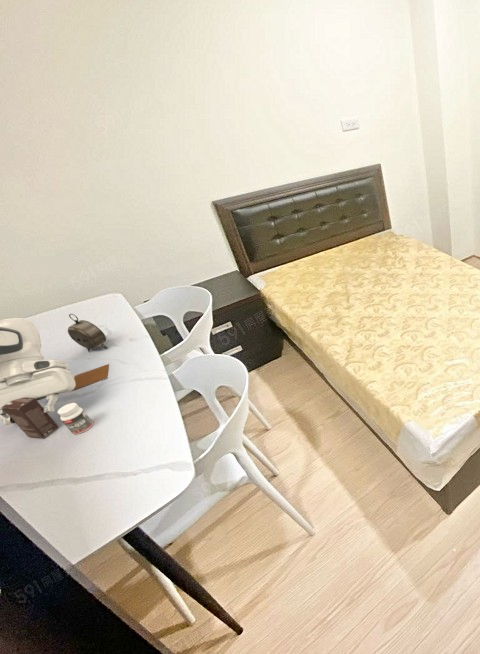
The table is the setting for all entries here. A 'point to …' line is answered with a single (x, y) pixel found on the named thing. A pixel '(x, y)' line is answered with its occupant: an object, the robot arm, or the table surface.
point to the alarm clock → (86, 334)
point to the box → (30, 417)
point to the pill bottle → (75, 418)
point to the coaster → (91, 376)
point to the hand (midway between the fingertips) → (29, 418)
